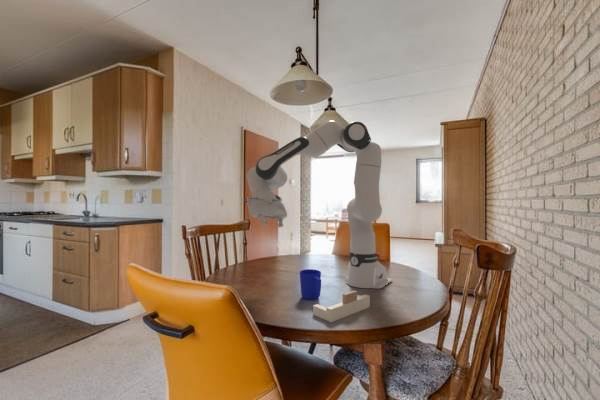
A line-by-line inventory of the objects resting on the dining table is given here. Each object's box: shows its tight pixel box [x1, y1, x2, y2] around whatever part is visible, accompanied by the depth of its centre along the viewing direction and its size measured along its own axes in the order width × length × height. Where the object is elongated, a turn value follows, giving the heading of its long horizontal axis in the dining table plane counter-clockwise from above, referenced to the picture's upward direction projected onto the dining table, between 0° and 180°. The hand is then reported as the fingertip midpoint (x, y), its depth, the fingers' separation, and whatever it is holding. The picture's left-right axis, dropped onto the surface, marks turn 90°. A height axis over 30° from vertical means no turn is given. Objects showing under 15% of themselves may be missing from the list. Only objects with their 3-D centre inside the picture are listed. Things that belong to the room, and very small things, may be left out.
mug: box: [299, 268, 322, 301], centre depth 111 cm, size 8×12×10 cm
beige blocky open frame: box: [312, 290, 371, 323], centre depth 100 cm, size 20×8×7 cm, turn 131°
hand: (273, 226), depth 125 cm, fingers open, 8 cm apart
